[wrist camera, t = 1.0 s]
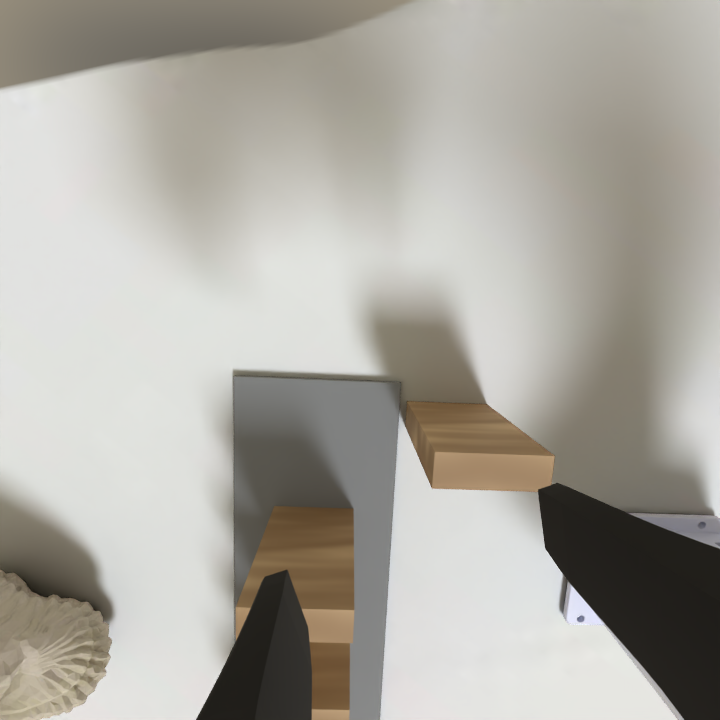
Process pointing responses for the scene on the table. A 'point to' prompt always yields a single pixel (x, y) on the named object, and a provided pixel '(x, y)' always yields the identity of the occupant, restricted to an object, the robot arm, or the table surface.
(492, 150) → the table surface
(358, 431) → the slate mat
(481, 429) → the domino
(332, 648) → the domino
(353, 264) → the table surface
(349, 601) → the domino
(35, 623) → the fossil replica
